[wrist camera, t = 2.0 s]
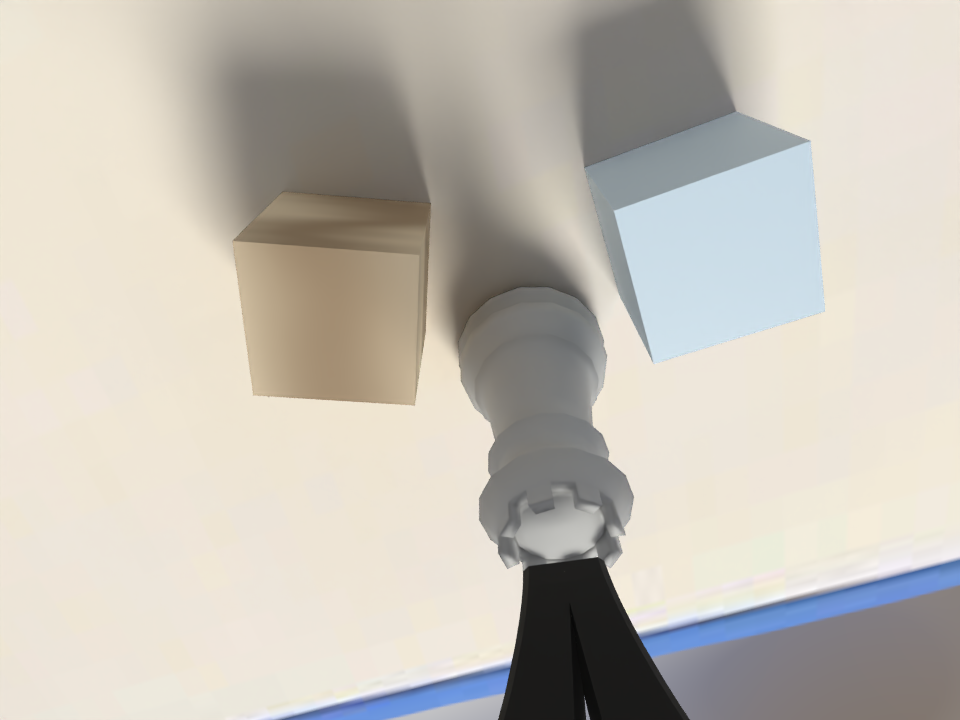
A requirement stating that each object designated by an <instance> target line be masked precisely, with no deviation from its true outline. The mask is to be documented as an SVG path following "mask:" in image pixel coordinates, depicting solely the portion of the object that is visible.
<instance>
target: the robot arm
mask: <svg viewBox="0 0 960 720" xmlns="http://www.w3.org/2000/svg"><path fill="white" fill-rule="evenodd" d="M584 696H585V699H584ZM585 700H586V704H587V709H588V713H589V717H590V720H690V719H689V718H688V716H687V715H686V713H685V712H684V710H683V709H682V708H681V706H680V704H679V703H678V701H677V700H676V698H675V696H674V695H673V693H672V692H671V690H670V689H669V687H668V685H667V684H666V682H665V680H664V679H663V677H662V675H661V674H660V672H659V670H658V669H657V667H656V665H655V664H654V662H653V660H652V658H651V657H650V655H649V653H648V652H647V650H646V648H645V647H644V645H643V643H642V641H641V639H640V638H639V636H638V634H637V632H636V630H635V628H634V627H633V625H632V623H631V621H630V619H629V617H628V615H627V613H626V611H625V609H624V607H623V605H622V603H621V601H620V599H619V597H618V594H617V592H616V590H615V588H614V585H613V583H612V580H611V578H610V575H609V573H608V570H607V567H606V564H605V561H604V560H602V559H600V558H598V557H594V558H587V559H579V560H571V561H564V562H556V563H548V564H540V565H533V566H528V567H527V568H526V569H525V570H524V571H523V593H522V604H521V612H520V620H519V626H518V632H517V638H516V644H515V649H514V654H513V659H512V664H511V668H510V673H509V678H508V682H507V687H506V691H505V696H504V700H503V704H502V707H501V711H500V715H499V719H498V720H586V713H585Z"/></svg>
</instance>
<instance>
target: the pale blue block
mask: <svg viewBox="0 0 960 720" xmlns="http://www.w3.org/2000/svg"><path fill="white" fill-rule="evenodd" d="M585 172H586V175H587V179H588V183H589V186H590V190H591V193H592V197H593V201H594V204H595V208H596V212H597V215H598V219H599V222H600V226H601V230H602V233H603V237H604V241H605V244H606V248H607V251H608V255H609V259H610V262H611V266H612V269H613V273H614V277H615V280H616V284H617V288H618V291H619V295H620V297H621V299H622V301H623V303H624V305H625V307H626V309H627V311H628V313H629V315H630V317H631V319H632V321H633V323H634V325H635V327H636V329H637V331H638V333H639V335H640V337H641V339H642V341H643V343H644V345H645V347H646V349H647V351H648V353H649V355H650V357H651V359H652V361H653V363H654V364H655V363H658V362H662V361H665V360H668V359H672V358H675V357H678V356H681V355H685V354H688V353H691V352H694V351H698V350H701V349H704V348H707V347H711V346H714V345H717V344H720V343H724V342H727V341H730V340H733V339H737V338H740V337H743V336H746V335H750V334H753V333H756V332H760V331H763V330H766V329H769V328H773V327H776V326H779V325H782V324H786V323H789V322H792V321H795V320H799V319H802V318H805V317H808V316H812V315H815V314H818V313H821V312H825V303H824V291H823V280H822V268H821V256H820V245H819V233H818V221H817V210H816V198H815V186H814V175H813V163H812V152H811V141H809V140H807V139H804V138H802V137H799V136H797V135H794V134H792V133H789V132H787V131H784V130H782V129H779V128H777V127H774V126H772V125H769V124H767V123H764V122H762V121H759V120H757V119H754V118H752V117H749V116H747V115H744V114H742V113H739V112H737V111H736V112H733V113H731V114H728V115H725V116H722V117H720V118H717V119H714V120H712V121H709V122H706V123H704V124H701V125H698V126H695V127H693V128H690V129H687V130H685V131H682V132H679V133H677V134H674V135H671V136H668V137H666V138H663V139H660V140H658V141H655V142H652V143H650V144H647V145H644V146H642V147H639V148H636V149H633V150H631V151H628V152H625V153H623V154H620V155H617V156H615V157H612V158H609V159H606V160H604V161H601V162H598V163H596V164H593V165H590V166H588V167H585Z"/></svg>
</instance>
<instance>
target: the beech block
mask: <svg viewBox="0 0 960 720" xmlns="http://www.w3.org/2000/svg"><path fill="white" fill-rule="evenodd" d="M430 210H431V203H420V202H407V201H395V200H382V199H370V198H357V197H344V196H332V195H319V194H307V193H294V192H282V193H281V194H280V195H279V196H278V197H277V198H276V199H275V200H274V201H273V202H272V203H271V204H270V205H269V206H268V207H267V208H266V209H265V210H264V211H263V212H262V213H261V214H260V215H259V216H258V217H256V218H255V219H254V220H253V221H252V222H251V223H250V224H249V225H248V226H247V227H246V228H245V229H244V230H243V231H242V232H241V233H240V234H239V235H238V236H237V237H236V238H235V239H234V240H233V248H234V256H235V263H236V270H237V278H238V285H239V293H240V300H241V308H242V315H243V323H244V330H245V337H246V345H247V352H248V360H249V367H250V375H251V382H252V390H253V395H257V396H273V397H289V398H305V399H321V400H337V401H353V402H369V403H385V404H401V405H415V400H416V393H417V386H418V379H419V373H420V366H421V359H422V353H423V346H424V339H425V332H426V309H427V284H428V259H429V234H430Z"/></svg>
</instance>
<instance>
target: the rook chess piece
mask: <svg viewBox="0 0 960 720" xmlns="http://www.w3.org/2000/svg"><path fill="white" fill-rule="evenodd" d="M606 361H607V354H606V351H605V348H604V339H603V337H602V334H601V331H600V328H599V325H598V322H597V319H596V317H595V316H594V315H593V314H592V313H591V312H590V311H589V310H588V309H587V308H586V307H585V306H584V305H583V304H582V303H581V302H580V301H579V300H578V299H577V298H576V297H573V296H570V295H568V294H565V293H563V292H560V291H558V290H555V289H552V288H550V287H518V288H516V289H513V290H511V291H508V292H505V293H503V294H500V295H497V296H495V297H492V298H490V299H489V300H488V301H487V302H486V303H485V304H484V305H482V306H481V307H480V308H479V309H478V310H477V311H476V312H475V313H474V314H473V315H471V316H470V317H469V319H468V322H467V324H466V326H465V328H464V331H463V333H462V335H461V337H460V339H459V367H460V369H461V382H462V384H463V386H464V388H465V390H466V392H467V394H468V396H469V398H470V400H471V402H472V404H473V406H474V408H475V409H476V410H477V411H479V412H480V413H481V414H482V415H483V416H484V418H485V419H486V420H488V421H489V422H490V423H491V427H492V431H493V434H494V438H495V442H494V444H493V446H492V447H491V449H490V451H489V456H488V472H489V473H490V475H491V478H490V479H489V481H488V483H487V485H486V487H485V488H484V490H483V492H482V494H481V496H480V497H479V520H480V522H481V524H482V526H483V527H484V529H485V531H486V533H487V534H488V536H489V538H490V540H492V541H493V542H494V543H496V544H497V545H498V554H499V555H500V557H501V559H502V561H503V562H504V564H505V566H506V567H507V569H508V568H510V567H513V566H515V565H517V564H519V561H521V562H522V564H523V571H524V570H525V569H526V568H527V567H528V566H533V565H540V564H548V563H556V562H564V561H571V560H579V559H587V558H594V557H597V556H598V558H600V559H602V560H604V561H605V564H606V566H607V567H609V568H611V567H612V566H613V564H614V563H615V562H616V561H617V559H618V558H619V557H620V555H621V554H622V553H623V552H622V549H621V545H620V541H619V537H618V536H622V535H625V531H624V527H625V525H626V524H627V523H628V521H629V520H630V516H631V510H632V505H633V499H634V496H633V493H632V491H631V488H630V486H629V483H628V480H627V478H626V475H625V474H623V473H622V472H621V471H620V470H619V469H618V468H617V467H615V466H614V465H613V464H612V463H611V462H610V461H608V457H609V451H608V448H607V446H606V443H605V441H604V438H603V435H602V434H601V433H600V432H599V431H597V430H596V429H595V428H594V427H593V424H592V406H593V404H594V403H595V401H596V399H597V396H598V394H599V393H600V391H601V390H602V388H603V384H604V377H605V369H606Z"/></svg>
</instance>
